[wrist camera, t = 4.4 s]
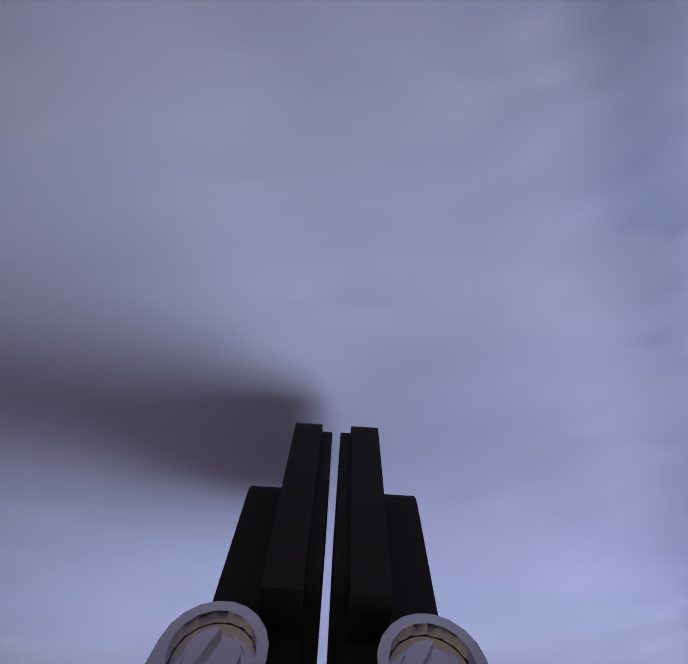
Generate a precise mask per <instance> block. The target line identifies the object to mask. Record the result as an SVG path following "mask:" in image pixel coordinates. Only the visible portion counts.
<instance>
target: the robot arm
mask: <svg viewBox="0 0 688 664" xmlns="http://www.w3.org/2000/svg"><path fill="white" fill-rule="evenodd" d="M322 427H323V426H322V424H306V423H296V425H295V430H294V434H293V439H292V443H291V448H290V452H289V457H288V462H287V466H286V471H285V475H284V480H283V484H282V488H278V487H262V486H251V487H250V488H249V491H248V493H247V496H246V499H245V502H244V506H243V509H242V512H241V515H240V518H239V521H238V524H237V527H236V530H235V534H234V537H233V540H232V543H231V546H230V549H229V552H228V555H227V559H226V562H225V565H224V568H223V571H222V574H221V577H220V580H219V583H218V587H217V590H216V593H215V596H214V599H213V602H210V603H205V604H201V605H199V606H197V607H194V608H192V609H190V610H188V611H186V612H184V613H183V614H182V615H181V616H179V617H178V618H177V619H176V620H175V621H173V622H172V623H171V624H170V625H169V627H168V628H167V629H166V630H165V632H164V633H163V634H162V636H161V637H160V638H159V640H158V642H157V644H156V645H155V647H154V649H153V651H152V652H151V654H150V656H149V658H148V659H147V661H146V663H145V664H317V653H318V640H319V626H320V612H321V599H322V585H323V571H324V558H325V543H326V527H327V511H328V495H329V479H330V462H331V446H332V432H322ZM327 664H488V662H487V659H486V658H485V656H484V654H483V652H482V651H481V649H480V647H479V645H478V644H477V642H476V641H475V640H474V639H473V638H472V637H471V636H470V635H469V634H468V633H467V632H466V631H465V630H464V629H463V628H461V627H460V626H458V625H457V624H455V623H453V622H452V621H450V620H448V619H445V618H442V617H440V616H438V613H437V608H436V602H435V597H434V592H433V586H432V581H431V576H430V570H429V565H428V559H427V554H426V549H425V543H424V538H423V533H422V527H421V522H420V517H419V511H418V506H417V502H416V498H415V497H414V496H404V495H389V494H384V488H383V477H382V467H381V456H380V445H379V434H378V428H369V427H353V426H351V433H341V436H340V450H339V465H338V480H337V494H336V509H335V524H334V538H333V555H332V574H331V592H330V611H329V630H328V649H327Z"/></svg>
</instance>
